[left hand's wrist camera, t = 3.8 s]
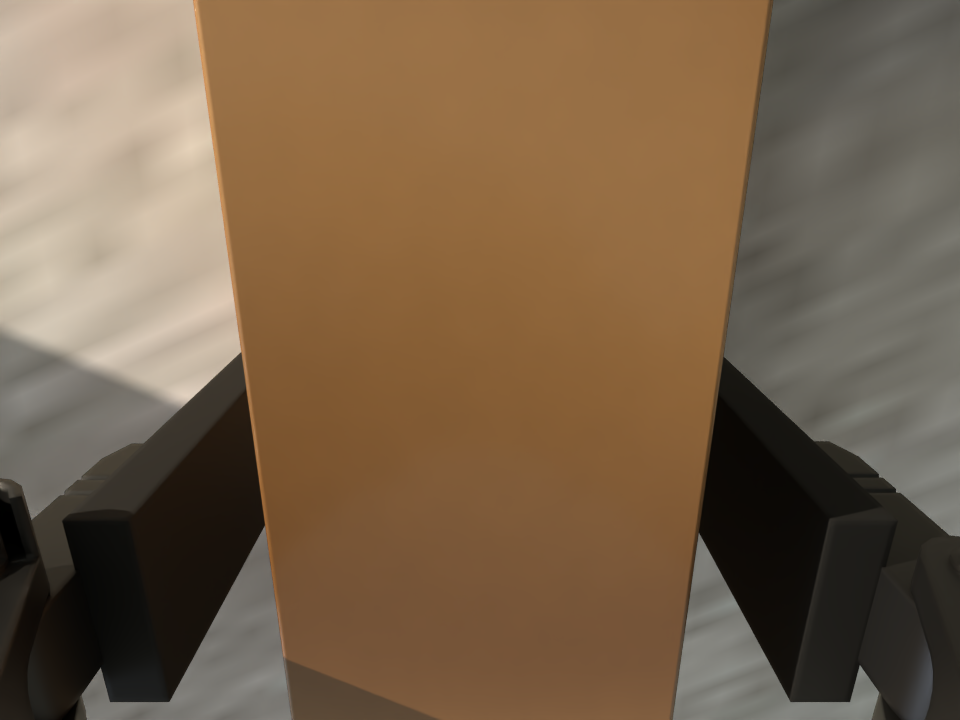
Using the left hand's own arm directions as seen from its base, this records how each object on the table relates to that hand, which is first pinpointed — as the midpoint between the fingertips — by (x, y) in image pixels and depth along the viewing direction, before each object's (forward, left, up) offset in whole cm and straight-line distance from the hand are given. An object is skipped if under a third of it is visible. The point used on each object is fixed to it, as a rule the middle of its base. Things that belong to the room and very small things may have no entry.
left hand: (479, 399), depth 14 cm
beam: (+9, +27, -1) cm, 28 cm away
